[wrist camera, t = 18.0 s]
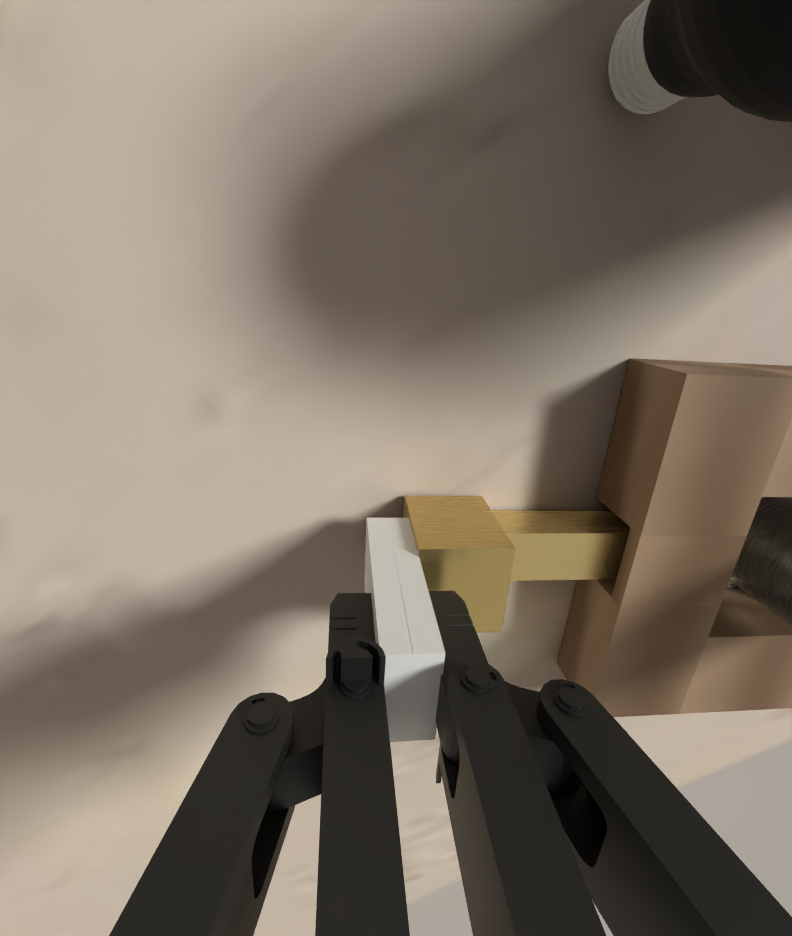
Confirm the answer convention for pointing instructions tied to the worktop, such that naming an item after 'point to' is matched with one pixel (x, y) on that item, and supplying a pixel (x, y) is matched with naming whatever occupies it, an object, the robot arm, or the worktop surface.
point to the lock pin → (508, 549)
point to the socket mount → (687, 545)
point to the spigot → (768, 558)
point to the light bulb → (705, 55)
